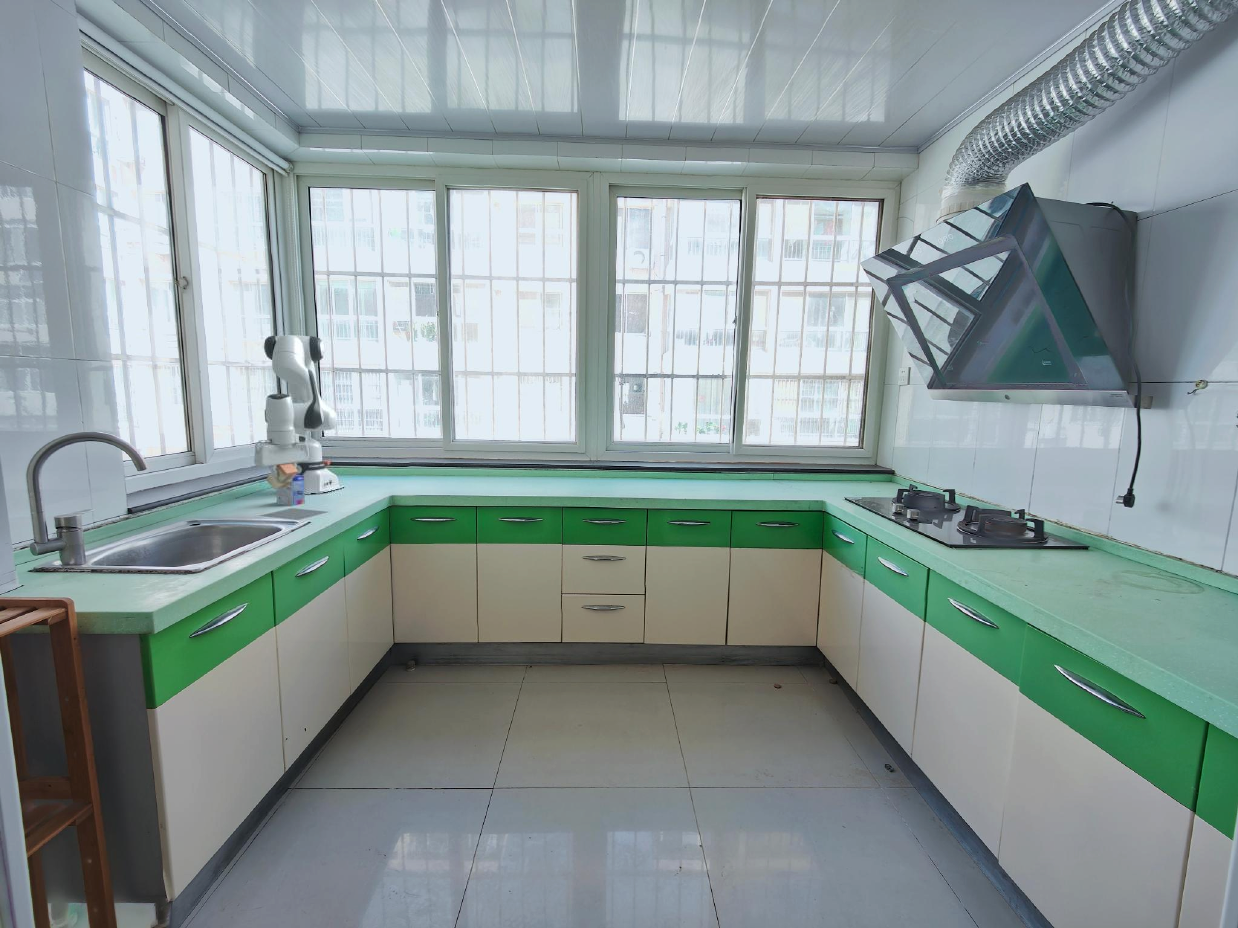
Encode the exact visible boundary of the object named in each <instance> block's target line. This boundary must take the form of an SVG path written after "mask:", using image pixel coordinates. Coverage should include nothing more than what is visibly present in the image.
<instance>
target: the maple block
mask: <svg viewBox="0 0 1238 928" xmlns="http://www.w3.org/2000/svg"><path fill="white" fill-rule="evenodd" d="M276 466H277V468H275V469H276V471H277V472H279V475H280V476H279V477H272V472H271V471H270V473H269V475H268V476H267V477H266V478H265V479H266V481H267V483H268V484H269V485H270V487H272V489H273V490H276V489H279V488H284V487H286V486H287V485H288V484H289V483H290V481H291V480H292V479H293V478H294V476H295V475H296V474H297V473H298V470H297V469H296V468H295V467H294V466H293V464H292V463H287V464H280V465H276Z"/></svg>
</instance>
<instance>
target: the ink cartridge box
mask: <svg viewBox="0 0 1238 928" xmlns="http://www.w3.org/2000/svg"><path fill="white" fill-rule="evenodd" d="M275 490H276V491H275V493H276V498H275V499H276V504H279V505H287V506H292V507H293V506H298V505H303V504H305V503H306V502H305V501H306V499H305V498H306V497H305V494H304V475H295V476H294V478H293V479H292V480H291V481H290V483H289V484H288V485H287V486H286V487H284V488H279V489H275Z"/></svg>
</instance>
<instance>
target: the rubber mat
mask: <svg viewBox="0 0 1238 928" xmlns="http://www.w3.org/2000/svg"><path fill="white" fill-rule="evenodd" d="M325 513H328V511H324V510H314V509H304V508H294V507H291V508H287V509H283V510H278V511H273V512H270V513H265V514H261V515H259V517H267V518H277V519H285V520H288V519H289V520H296V521H299V520H303V519H308V518H312V517H314V516H315V517H316V516H319V515H322V514H325Z"/></svg>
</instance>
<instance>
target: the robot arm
mask: <svg viewBox="0 0 1238 928" xmlns="http://www.w3.org/2000/svg"><path fill="white" fill-rule="evenodd" d="M321 339H322V338H320V337H318V336H313V335H311V336H307V335H300V334H298V335H297V334H293V335H292V334H284V335H270V336H268V337H266V338H265V339H264V343H263V350H264V353H265V356H266V357H267V358H268V359H269V360H270V361H271V366H272V370H273V373H274V374H275V375H276V376H277V377H278V378H279V379H281V380H282V381H284V382H287V386H288V387H287V388H288V393H289V394H290V395H289V394H285V393H272V394H269V395H267V396H266V399H265V400H266V401H265V409H264V421H265V422H266V423H267V427H266V439H264V440H263V439H262V440H261V439H260V440H258V442H256V443H255V446H254V456H253V457H254V458H253V459H254V460H253V462H254V465H255V466H256V467H261V468H262V467H268V469H269V471H270V473H271V472H272V477H279V476H280V475H279V472H277V471H276V469H275V468H277V465H280V464H287V463H292V464H293V466H294V467H295V468H296V469H297V470H298V473H297V474H296V475H304V495H312V494H311V493H316V494H324V493H323V492H327V491H331V490H335V489H337V488H341V487H345V485H342V484H341V485H342V486H339V485H340V481H339V478H338V476H337V475H336V473H333V472H332V471H330V470H329V469H328V468H327V466H330V463H331V461H330V460H325V461H324V460H323V450H322V447H323V446H322V444H321V443H320V441H318V440H316V439H314V438H313V437H310V436H309V434H308V432H325V431H330V430H334V429H335V428H336V427H337V425H338V421H339V418H338V417H339V416H338V414H337V412H336V411H335V410H334V408H332V407H330V406H329V405H328V404H327V403H325V402H324V400H323V399H322V397H321V395H320V393H319V389H318V383H317V375H316V367H315V364H317V362H319V361H321V360H322V359H323V358H324V355H325V350H326V349H325V345H324V343H323V341H322V340H321ZM292 397H293V398H294V399H297V400H299V401H301V402H294V403H293V400H292ZM335 491H336V490H335Z"/></svg>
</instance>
